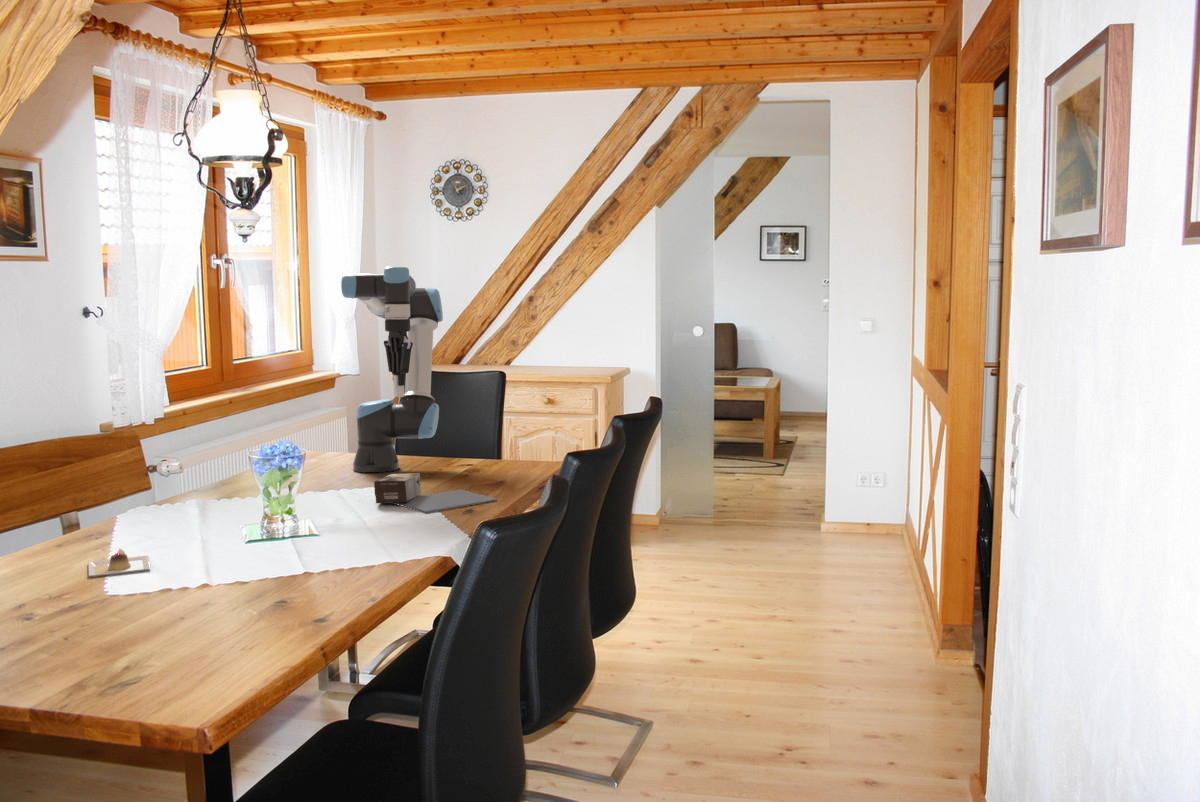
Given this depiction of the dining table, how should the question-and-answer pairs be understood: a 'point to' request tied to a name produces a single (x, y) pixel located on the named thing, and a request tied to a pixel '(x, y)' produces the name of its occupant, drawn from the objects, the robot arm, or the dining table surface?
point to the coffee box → (397, 488)
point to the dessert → (118, 564)
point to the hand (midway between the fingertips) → (399, 396)
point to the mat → (446, 501)
